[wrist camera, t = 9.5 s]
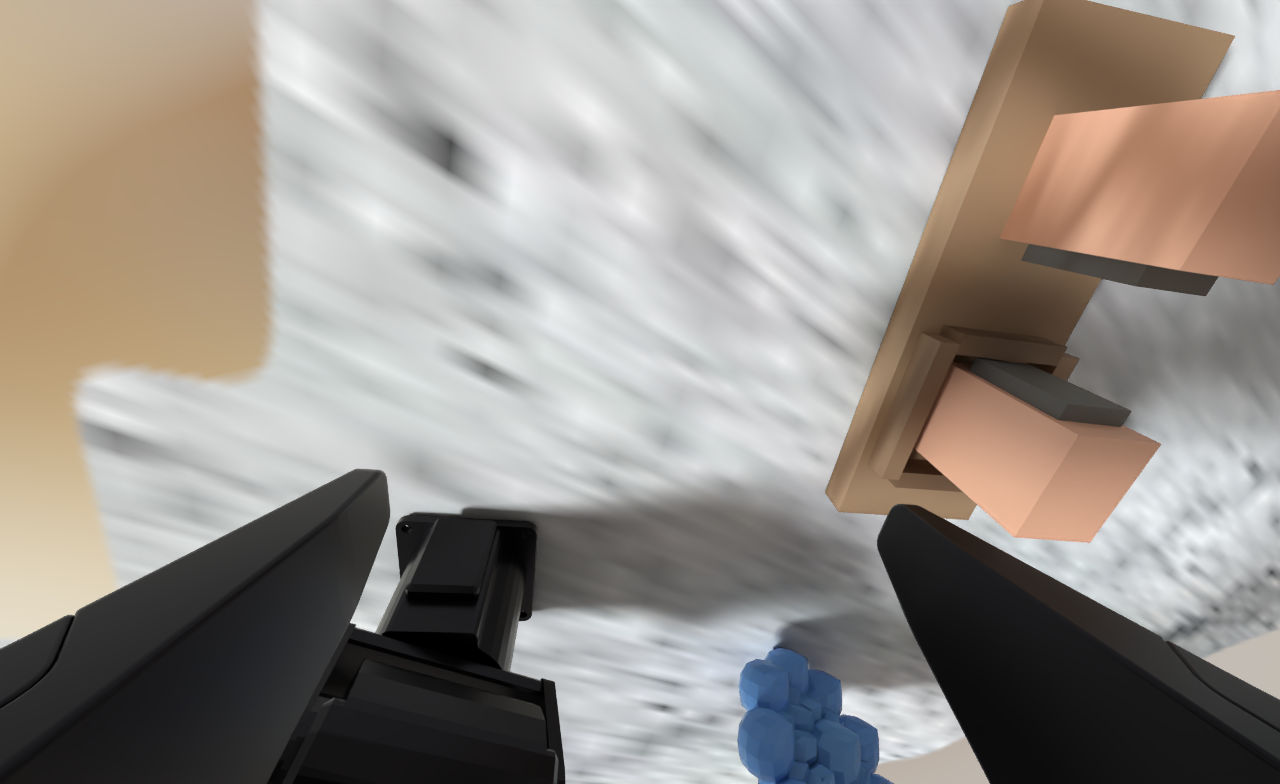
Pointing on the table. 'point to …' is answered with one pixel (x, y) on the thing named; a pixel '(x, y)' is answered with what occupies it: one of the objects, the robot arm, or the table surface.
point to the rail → (985, 189)
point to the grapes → (801, 726)
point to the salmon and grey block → (1032, 448)
